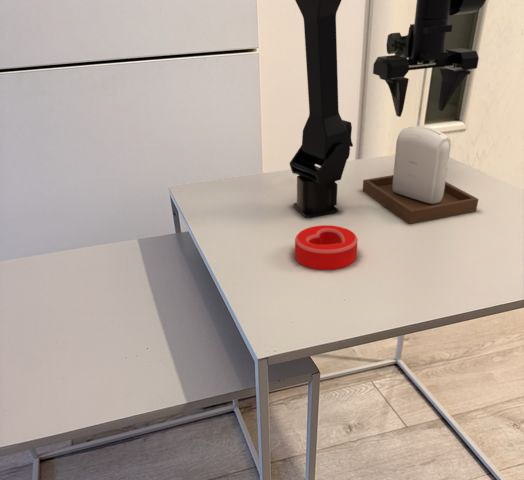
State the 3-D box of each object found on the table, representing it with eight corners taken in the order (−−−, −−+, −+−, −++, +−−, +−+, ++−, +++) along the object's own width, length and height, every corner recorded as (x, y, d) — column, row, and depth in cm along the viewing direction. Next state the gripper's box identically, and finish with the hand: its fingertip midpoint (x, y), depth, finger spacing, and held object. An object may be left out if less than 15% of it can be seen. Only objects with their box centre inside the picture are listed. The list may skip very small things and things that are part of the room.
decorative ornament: (350, 272, 80) (352, 253, 78) (288, 266, 83) (288, 247, 81) (360, 245, 87) (362, 227, 85) (303, 239, 90) (303, 222, 88)
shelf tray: (409, 224, 93) (411, 211, 92) (362, 191, 107) (363, 179, 105) (476, 211, 96) (478, 199, 95) (422, 181, 110) (423, 169, 109)
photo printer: (387, 192, 103) (394, 124, 96) (402, 186, 105) (410, 120, 98) (430, 207, 97) (441, 135, 89) (446, 201, 99) (457, 130, 91)
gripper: (450, 11, 102) (438, 99, 111) (361, 18, 97) (356, 110, 107) (488, 15, 93) (471, 111, 103) (393, 23, 89) (384, 123, 98)
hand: (419, 113), depth 103 cm, fingers open, 9 cm apart
